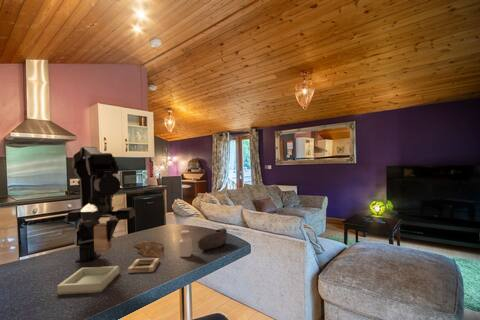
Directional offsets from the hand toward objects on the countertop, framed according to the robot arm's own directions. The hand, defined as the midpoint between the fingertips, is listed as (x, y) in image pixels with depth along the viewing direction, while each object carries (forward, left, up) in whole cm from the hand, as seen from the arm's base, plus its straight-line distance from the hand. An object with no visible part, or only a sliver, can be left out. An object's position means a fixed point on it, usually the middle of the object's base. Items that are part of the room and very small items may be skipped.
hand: (102, 241), depth 79 cm
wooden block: (0, 0, -2) cm, 2 cm away
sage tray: (+2, -3, -12) cm, 13 cm away
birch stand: (-8, +10, -12) cm, 18 cm away
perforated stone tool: (-25, +33, -12) cm, 43 cm away
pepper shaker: (-17, +23, -12) cm, 31 cm away
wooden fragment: (-26, +7, -12) cm, 30 cm away
